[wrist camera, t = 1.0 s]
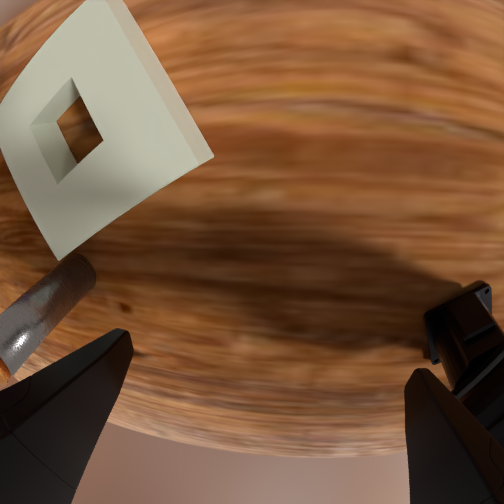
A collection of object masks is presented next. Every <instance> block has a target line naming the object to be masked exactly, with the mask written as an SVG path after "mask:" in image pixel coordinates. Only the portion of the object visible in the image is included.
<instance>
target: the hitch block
mask: <svg viewBox="0 0 504 504" xmlns="http://www.w3.org/2000/svg"><path fill="white" fill-rule="evenodd" d="M80 96H81V97H82V99H83V101H84V103H85V105H86V107H87V109H88V111H89V113H90V115H91V117H92V119H93V121H94V123H95V125H96V127H97V129H98V131H99V133H100V134H101V136H102V138H103V140H104V141H102V142H101V143H100V144H99V145H98V146H97V147H96V148H95V149H94V150H92V151H91V152H90V153H89V154H88V155H87V156H86V157H85V158H84V159H83V160H82V161H81V162H80V163H79V164H77V162H76V160H75V158H74V156H73V154H72V153H71V151H70V149H69V147H68V145H67V143H66V141H65V139H64V137H63V135H62V132H61V130H60V128H59V126H58V124H57V122H56V121H57V120H58V119H59V118H60V117H61V116H62V114H63V113H64V112H65V111H66V110H67V109H68V108H69V107H70V106H71V105H72V104H73V103H74V102H75V101H76V100H77V99H78V98H79V97H80ZM0 148H1V151H2V153H3V156H4V158H5V161H6V163H7V165H8V168H9V170H10V172H11V174H12V177H13V179H14V181H15V183H16V185H17V187H18V189H19V192H20V194H21V196H22V198H23V200H24V202H25V204H26V205H27V207H28V209H29V211H30V213H31V215H32V217H33V219H34V221H35V222H36V224H37V226H38V228H39V229H40V231H41V233H42V235H43V236H44V238H45V240H46V242H47V243H48V245H49V247H50V248H51V250H52V251H53V253H54V255H55V256H56V258H57V259H58V261H60V260H61V259H62V258H63V257H65V256H66V255H67V254H69V253H70V252H71V251H73V250H74V249H75V248H77V247H78V246H79V245H81V244H82V243H83V242H85V241H86V240H87V239H89V238H90V237H91V236H93V235H94V234H95V233H97V232H98V231H100V230H101V229H102V228H104V227H105V226H107V225H108V224H109V223H111V222H112V221H114V220H115V219H116V218H118V217H119V216H121V215H122V214H124V213H125V212H127V211H128V210H129V209H131V208H132V207H134V206H135V205H137V204H138V203H140V202H141V201H143V200H144V199H146V198H148V197H149V196H151V195H152V194H154V193H155V192H157V191H158V190H160V189H162V188H163V187H165V186H166V185H168V184H170V183H171V182H173V181H174V180H176V179H178V178H179V177H181V176H183V175H184V174H186V173H188V172H189V171H191V170H193V169H194V168H196V167H198V166H199V165H201V164H203V163H205V162H206V161H208V160H210V159H212V158H213V157H215V156H214V155H213V153H212V151H211V149H210V148H209V146H208V144H207V142H206V141H205V139H204V137H203V135H202V134H201V132H200V130H199V128H198V127H197V125H196V123H195V122H194V120H193V118H192V116H191V115H190V113H189V111H188V109H187V108H186V106H185V104H184V103H183V101H182V99H181V97H180V96H179V94H178V92H177V90H176V89H175V87H174V85H173V84H172V82H171V80H170V79H169V77H168V75H167V73H166V72H165V70H164V68H163V67H162V65H161V63H160V61H159V60H158V58H157V56H156V55H155V53H154V51H153V50H152V48H151V46H150V45H149V43H148V41H147V40H146V38H145V36H144V35H143V33H142V31H141V30H140V28H139V26H138V24H137V23H136V21H135V20H134V18H133V16H132V15H131V13H130V11H129V10H128V8H127V6H126V5H125V3H124V1H123V0H86V1H85V2H84V3H83V4H82V5H81V6H80V7H79V8H78V9H76V10H75V11H74V12H73V13H72V14H71V15H70V16H69V17H68V18H67V19H66V20H65V21H64V22H63V24H62V25H61V26H60V27H59V28H58V29H57V30H56V31H55V32H54V33H53V34H52V35H51V37H50V38H49V39H48V40H47V41H46V42H45V43H44V45H43V46H42V47H41V48H40V49H39V51H38V52H37V53H36V54H35V56H34V57H33V58H32V59H31V61H30V62H29V63H28V65H27V66H26V67H25V68H24V70H23V71H22V73H21V74H20V75H19V77H18V78H17V80H16V81H15V82H14V84H13V85H12V87H11V88H10V90H9V91H8V93H7V94H6V96H5V97H4V99H3V101H2V102H1V104H0Z"/></svg>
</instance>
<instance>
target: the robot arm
mask: <svg viewBox="0 0 504 504" xmlns="http://www.w3.org/2000/svg"><path fill="white" fill-rule="evenodd" d="M485 290H486V291H485ZM430 316H431V317H430ZM429 317H430V318H429ZM424 322H425V328H426V334H427V340H428V346H429V353H430V360H431V363H432V364H433V365H435V364H438V363H440V362H441V363H442V366H443V368H444V370H445V373H446V376H447V378H448V381H449V383H450V386H451V389H452V391H451V392H450V391H449V390H448V389H447V388H446V387H445V385H444V384H443V383H442V382H441V381H440V380H439V379H438V378H437V377H436V376H435V375H434V374H433V373H432V372H431V371H430V370H429V369H427V368H417V369H415V370H414V372H413V373H412V375H411V377H410V378H409V380H408V382H407V383H406V385H405V389H404V397H405V434H406V444H407V455H408V467H409V485H410V504H504V332H503V331H502V329H501V328H500V326H499V325H498V323H497V322H496V320H495V319H494V317H493V316H492V292H491V287H490V285H489V284H487V283H486V284H483V285H482V286H480V287H478V288H476V289H474V290H472V291H470V292H468V293H466V294H464V295H462V296H460V297H458V298H456V299H454V300H452V301H450V302H448V303H445V304H443V305H441V306H439V307H437V308H435V309H432V310H430V311H428V312H426V313H425V315H424ZM133 353H134V349H133V345H132V341H131V337H130V333H129V332H128V331H127V330H123V329H120V328H116V329H114V330H112V331H110V332H108V333H107V334H105V335H103V336H101V337H99V338H98V339H96V340H94V341H92V342H90V343H89V344H87V345H85V346H83V347H81V348H80V349H78V350H76V351H74V352H72V353H70V354H69V355H67V356H65V357H63V358H61V359H60V360H58V361H56V362H54V363H52V364H51V365H49V366H47V367H45V368H43V369H42V370H40V371H38V372H36V373H34V374H33V375H32V376H29V377H27V378H25V379H23V380H21V381H20V382H18V383H16V384H14V385H12V386H10V387H8V388H6V389H3V390H1V391H0V504H71V503H72V500H73V498H74V495H75V492H76V489H77V487H78V485H79V482H80V480H81V477H82V475H83V473H84V470H85V468H86V466H87V463H88V460H89V459H90V456H91V454H92V452H93V450H94V447H95V445H96V443H97V440H98V438H99V436H100V434H101V432H102V430H103V427H104V425H105V423H106V421H107V419H108V417H109V415H110V412H111V410H112V408H113V406H114V404H115V402H116V400H117V398H118V395H119V393H120V390H121V388H122V385H123V382H124V379H125V376H126V374H127V371H128V368H129V365H130V362H131V360H132V357H133Z"/></svg>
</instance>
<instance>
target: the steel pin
mask: <svg viewBox="0 0 504 504" xmlns="http://www.w3.org/2000/svg"><path fill="white" fill-rule="evenodd" d="M95 284H96V274H95V271H94V269H93V267H92V265H91V264H90V263H89V261H88V260H87V259H85V258H84V257H83V256H81V255H78V254H72V255H70V256H69V257H67V258H66V259H65V260H64V261H62V262H61V263H60V264H59V265H57V266H56V267H55V268H54V269H52V270H51V271H50V272H49V273H47V274H46V275H45V276H44V277H42V278H41V279H40V280H39V281H38V282H36V283H35V284H34V285H33V286H32V287H31V288H29V289H28V290H27V291H26V292H25V293H24V294H22V295H21V296H20V297H19V298H18V299H17V300H16V301H15V302H13V303H12V304H11V305H10V306H9V307H8V308H7V309H6V310H5V311H4V312H2V313H1V314H0V387H1V388H4V387H5V385H6V384H7V383H8V382H9V380H10V378H12V377H13V375H14V374H15V373H16V372H17V370H18V369H19V368H20V367H21V366H22V364H23V363H24V362H25V361H26V360H27V358H28V357H29V356H30V355H31V354H32V353H33V351H34V350H35V349H36V348H37V347H38V346H39V345H40V343H41V342H42V341H43V340H44V339H45V338H46V337H47V336H48V334H49V333H50V332H51V331H52V330H53V329H54V328H55V327H56V326H57V325H58V324H59V322H60V321H61V320H62V319H63V318H64V317H65V316H66V315H67V314H68V313H69V312H70V311H71V310H72V309H73V308H74V307H75V306H76V304H77V303H78V302H79V301H80V300H81V299H82V298H83V297H84V296H85V295H86V294H87V293H88V292H89V291H90V290H91V289H92V288H93V287H94V286H95Z"/></svg>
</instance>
